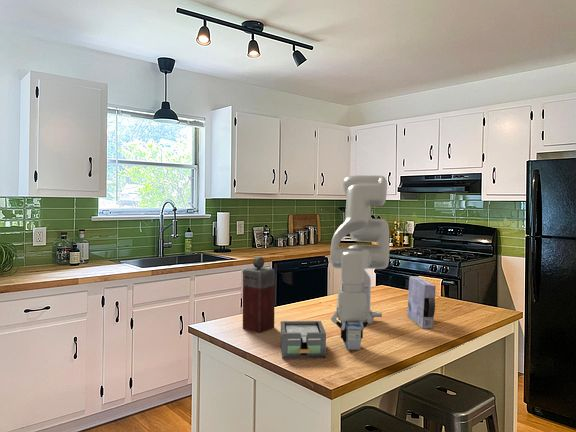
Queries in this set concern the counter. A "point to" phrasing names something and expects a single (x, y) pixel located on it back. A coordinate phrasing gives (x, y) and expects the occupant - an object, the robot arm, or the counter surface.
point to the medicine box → (353, 335)
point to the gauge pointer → (303, 350)
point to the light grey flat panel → (301, 330)
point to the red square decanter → (258, 297)
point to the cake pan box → (421, 302)
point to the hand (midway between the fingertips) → (351, 339)
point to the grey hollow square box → (294, 342)
